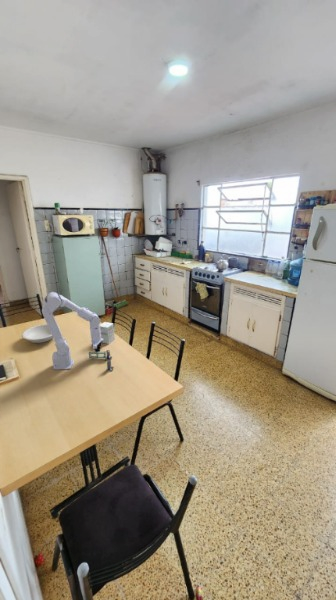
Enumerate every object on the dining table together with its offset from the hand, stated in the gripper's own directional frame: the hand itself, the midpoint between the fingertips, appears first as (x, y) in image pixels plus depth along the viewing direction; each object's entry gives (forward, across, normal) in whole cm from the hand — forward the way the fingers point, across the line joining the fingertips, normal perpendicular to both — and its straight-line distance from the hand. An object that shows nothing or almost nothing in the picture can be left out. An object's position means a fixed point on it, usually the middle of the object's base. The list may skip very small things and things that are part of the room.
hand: (98, 352), depth 155 cm
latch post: (+2, -14, -8) cm, 17 cm away
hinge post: (+2, -4, -7) cm, 8 cm away
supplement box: (+3, +19, -4) cm, 19 cm away
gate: (+2, -3, 0) cm, 4 cm away
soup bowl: (+3, +27, +42) cm, 50 cm away
